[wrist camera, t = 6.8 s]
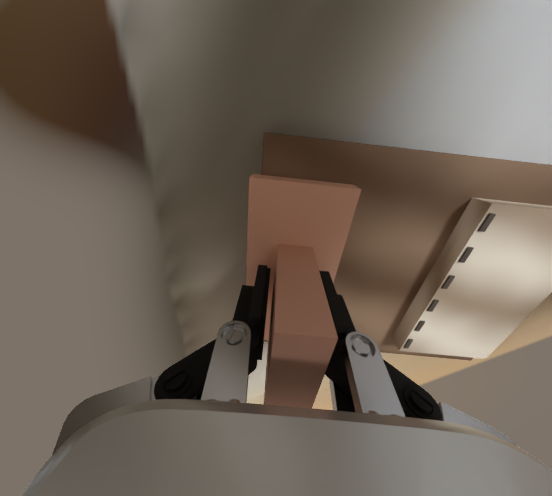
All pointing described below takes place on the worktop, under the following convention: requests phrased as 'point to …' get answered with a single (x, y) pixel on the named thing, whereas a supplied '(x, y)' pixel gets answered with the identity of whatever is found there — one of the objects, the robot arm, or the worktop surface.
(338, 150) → the board
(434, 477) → the robot arm
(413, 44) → the worktop surface
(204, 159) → the worktop surface
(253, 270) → the stub
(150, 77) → the worktop surface
